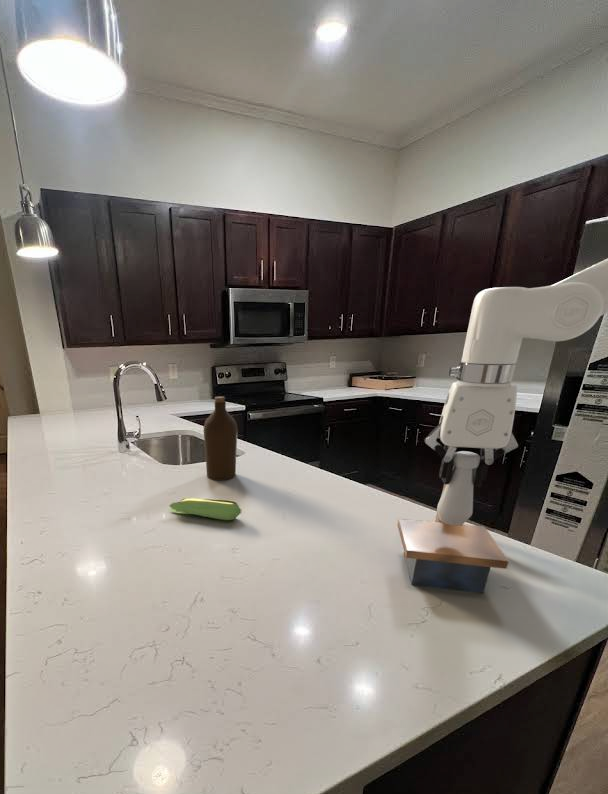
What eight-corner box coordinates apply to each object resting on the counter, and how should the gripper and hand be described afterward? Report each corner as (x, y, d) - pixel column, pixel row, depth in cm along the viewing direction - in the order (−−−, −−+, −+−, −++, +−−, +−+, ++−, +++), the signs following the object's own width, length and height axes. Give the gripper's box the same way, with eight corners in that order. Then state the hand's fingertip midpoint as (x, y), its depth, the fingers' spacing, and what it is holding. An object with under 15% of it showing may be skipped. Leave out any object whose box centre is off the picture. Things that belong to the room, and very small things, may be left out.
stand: (475, 559, 86) (484, 526, 83) (497, 598, 73) (508, 561, 70) (392, 550, 90) (398, 518, 87) (400, 586, 77) (407, 550, 74)
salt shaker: (455, 513, 80) (470, 447, 75) (477, 526, 75) (495, 456, 70) (427, 516, 79) (441, 449, 74) (447, 529, 74) (463, 458, 69)
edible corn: (238, 524, 102) (238, 507, 100) (164, 514, 108) (163, 498, 106) (244, 516, 107) (244, 500, 105) (173, 507, 113) (171, 491, 111)
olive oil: (212, 482, 130) (210, 400, 120) (200, 473, 139) (197, 396, 129) (243, 477, 134) (243, 398, 124) (229, 468, 143) (228, 393, 133)
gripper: (432, 376, 65) (412, 486, 73) (556, 378, 61) (522, 494, 69) (424, 372, 72) (406, 473, 79) (535, 373, 68) (506, 479, 75)
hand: (460, 482), depth 74 cm, fingers closed on salt shaker, 4 cm apart
